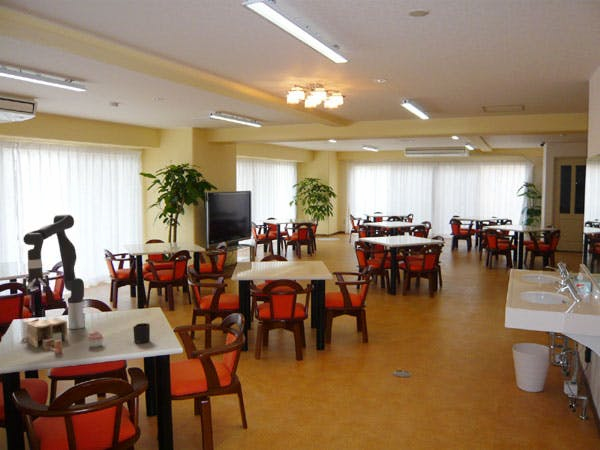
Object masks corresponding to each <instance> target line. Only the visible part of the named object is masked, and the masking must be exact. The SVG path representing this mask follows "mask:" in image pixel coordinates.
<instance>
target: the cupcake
mask: <svg viewBox="0 0 600 450" xmlns="http://www.w3.org/2000/svg"><path fill="white" fill-rule="evenodd" d="M104 337H105V336H103V334H102V332H100V331H98V329H93V331H92V332H90V333H89V334H88V335H87V339H86V341H87V342H88V345H89V347H90V348H93V349H95V348H99V347H101V346H102V345H103V342H104V341H103V340H104Z"/></svg>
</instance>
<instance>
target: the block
mask: <svg viewBox="0 0 600 450" xmlns="http://www.w3.org/2000/svg"><path fill="white" fill-rule="evenodd" d="M52 334H53V339H55V341H56V340H61V341H63V339H62V333H61V332H59V331H56V332H52Z"/></svg>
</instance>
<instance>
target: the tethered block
mask: <svg viewBox="0 0 600 450" xmlns="http://www.w3.org/2000/svg"><path fill="white" fill-rule="evenodd" d="M62 341H63V340H62ZM62 341H61V340H56V341H55V339H53V338H48V339H43V340H42V349H44V350H45V351H47V350H51V351H53V352H54V354H55V355H60V354H63V346H62Z"/></svg>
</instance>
